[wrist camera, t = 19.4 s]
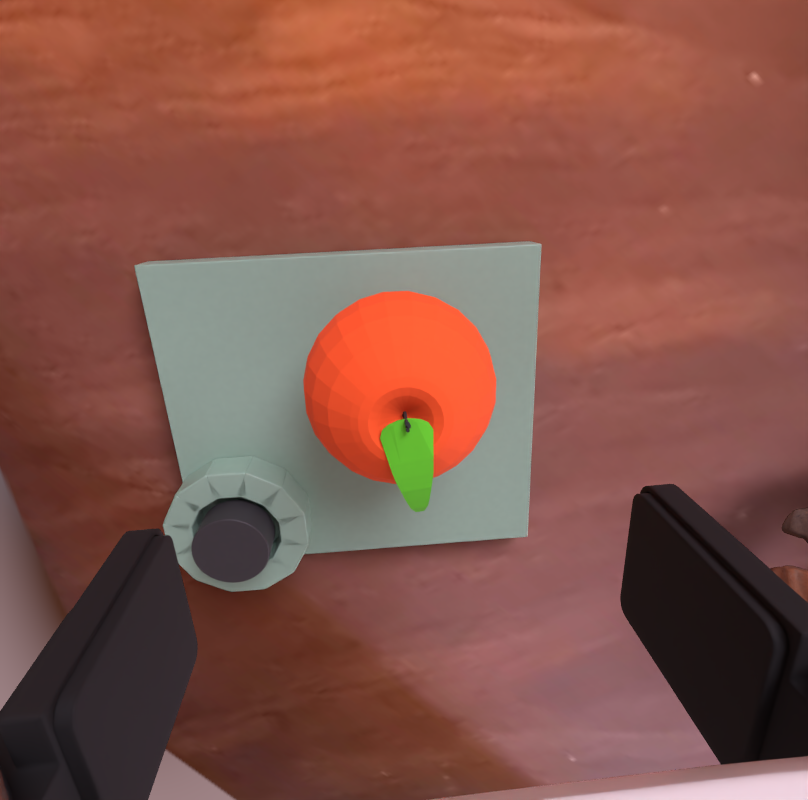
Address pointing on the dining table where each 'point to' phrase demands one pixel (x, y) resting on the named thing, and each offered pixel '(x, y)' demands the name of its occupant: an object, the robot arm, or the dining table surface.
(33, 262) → the dining table surface
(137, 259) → the dining table surface
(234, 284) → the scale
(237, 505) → the tare button
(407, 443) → the clementine
